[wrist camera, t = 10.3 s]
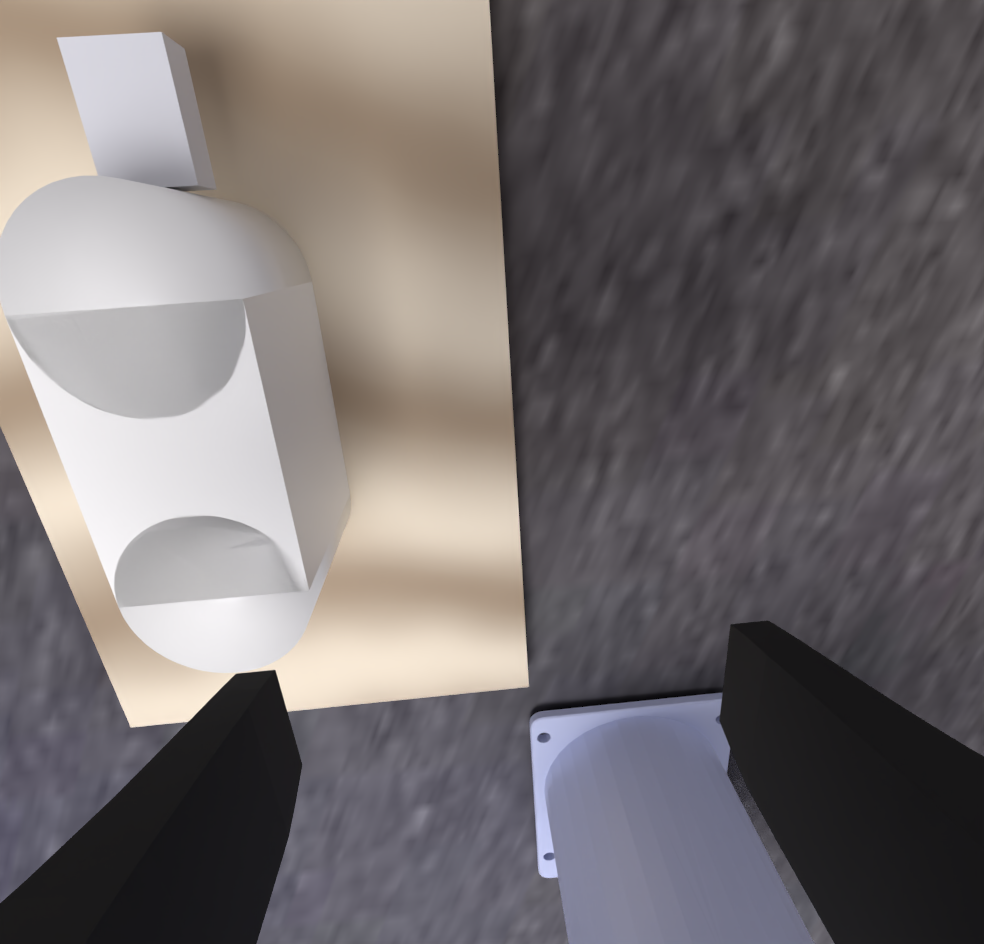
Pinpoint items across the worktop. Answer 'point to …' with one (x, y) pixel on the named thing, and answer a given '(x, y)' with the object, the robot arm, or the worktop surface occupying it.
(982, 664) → the worktop surface
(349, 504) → the plug
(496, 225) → the pad
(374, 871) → the worktop surface
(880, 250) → the worktop surface
